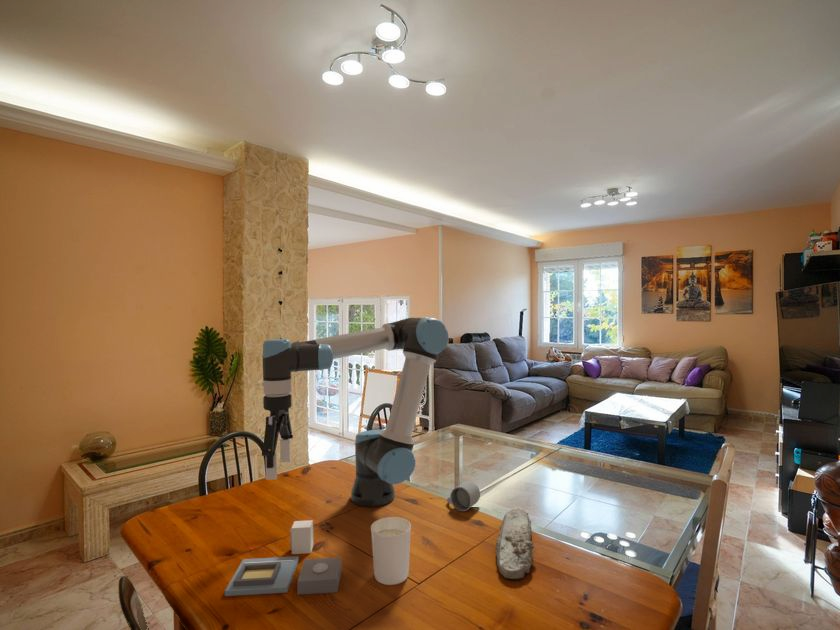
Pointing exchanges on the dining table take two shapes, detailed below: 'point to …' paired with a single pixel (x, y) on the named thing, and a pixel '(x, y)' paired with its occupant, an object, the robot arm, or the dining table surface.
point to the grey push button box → (319, 576)
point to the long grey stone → (514, 545)
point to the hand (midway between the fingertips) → (278, 470)
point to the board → (263, 576)
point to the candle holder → (391, 549)
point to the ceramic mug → (464, 496)
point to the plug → (301, 537)
